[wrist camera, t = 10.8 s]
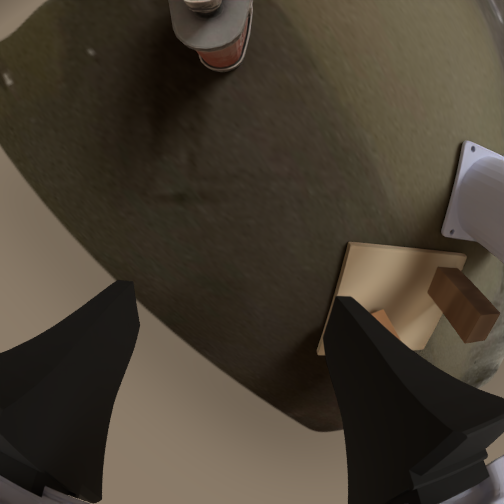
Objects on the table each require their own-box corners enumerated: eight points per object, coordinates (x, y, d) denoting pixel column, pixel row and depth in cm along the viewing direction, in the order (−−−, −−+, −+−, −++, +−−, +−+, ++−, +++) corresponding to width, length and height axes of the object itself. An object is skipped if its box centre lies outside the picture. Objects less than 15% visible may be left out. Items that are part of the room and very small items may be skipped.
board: (463, 253, 21) (467, 256, 21) (421, 345, 26) (423, 349, 26) (348, 241, 21) (350, 245, 20) (316, 350, 26) (317, 355, 25)
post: (457, 268, 21) (500, 313, 16) (447, 292, 23) (484, 340, 17) (437, 266, 21) (480, 315, 15) (426, 292, 22) (464, 343, 17)
